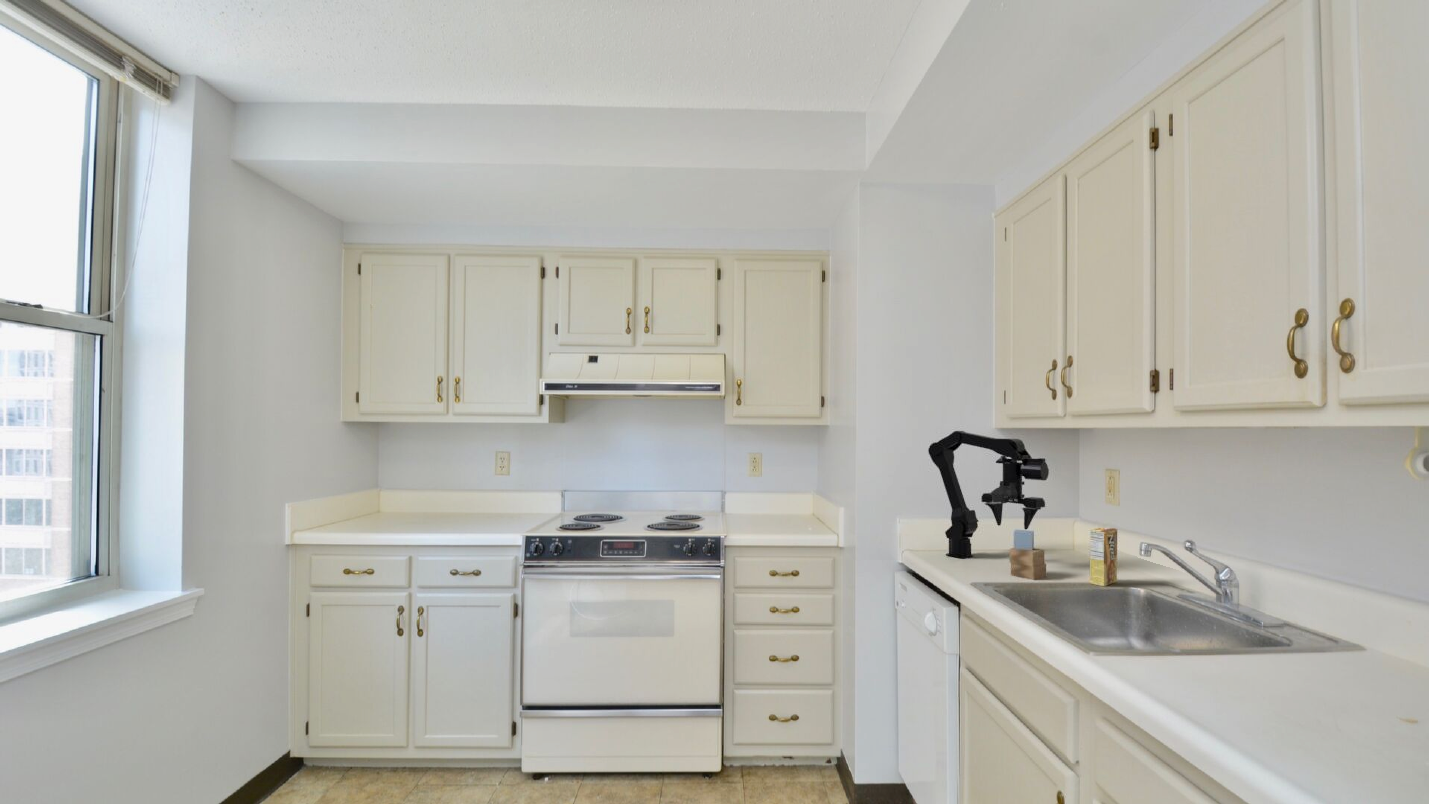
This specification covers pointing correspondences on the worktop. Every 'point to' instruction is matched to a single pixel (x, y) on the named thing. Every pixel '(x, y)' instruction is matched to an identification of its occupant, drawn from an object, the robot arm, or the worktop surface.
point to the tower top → (1027, 556)
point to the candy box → (1103, 556)
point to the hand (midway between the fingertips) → (1012, 527)
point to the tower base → (1028, 571)
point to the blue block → (1023, 539)
